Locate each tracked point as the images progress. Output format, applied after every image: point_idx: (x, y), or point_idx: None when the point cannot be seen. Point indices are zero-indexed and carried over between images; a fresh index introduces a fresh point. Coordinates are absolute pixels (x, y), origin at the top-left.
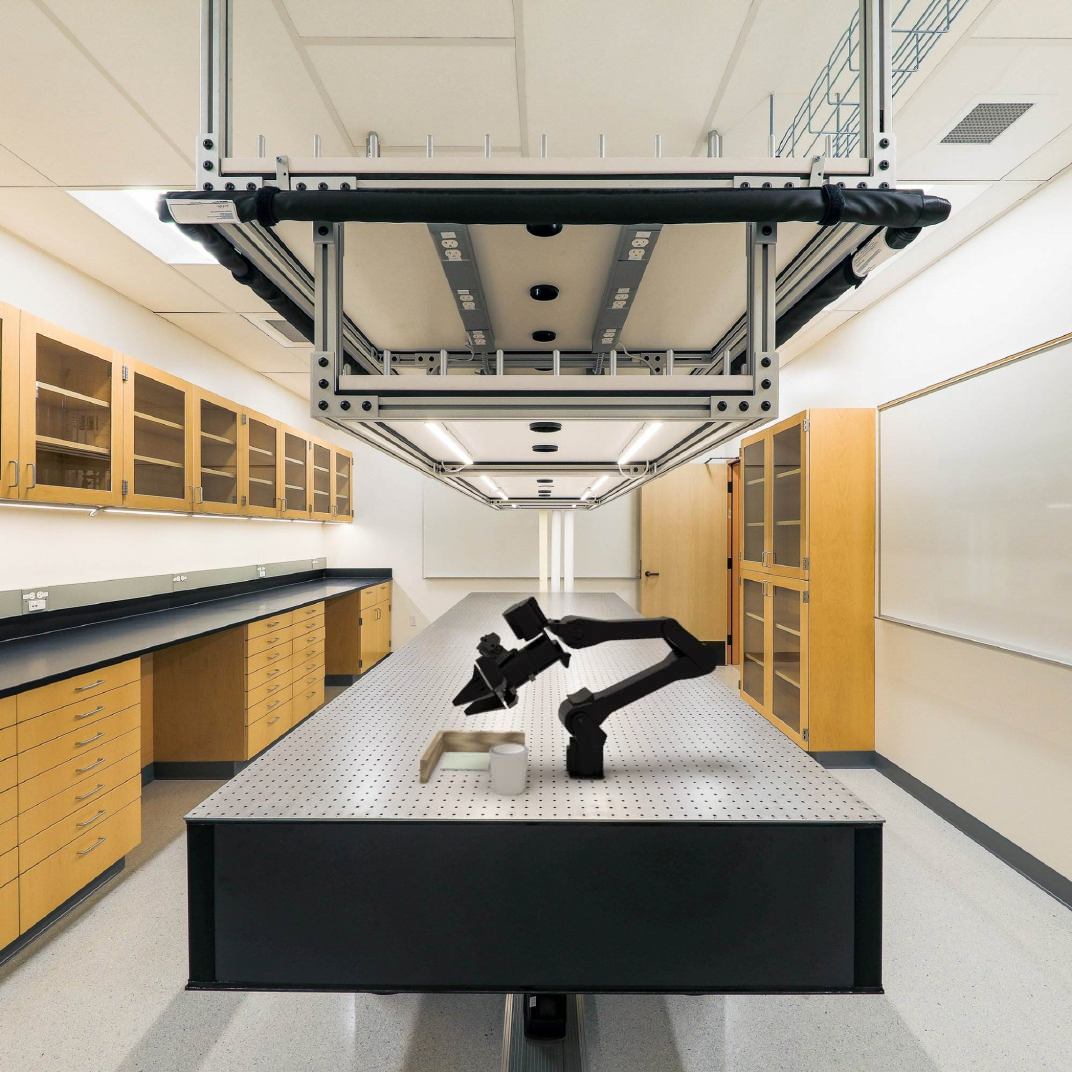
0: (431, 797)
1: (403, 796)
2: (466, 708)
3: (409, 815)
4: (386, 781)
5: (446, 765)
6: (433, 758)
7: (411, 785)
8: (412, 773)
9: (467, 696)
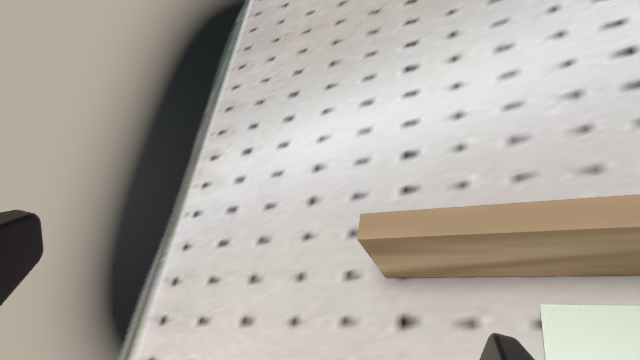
0: (263, 318)
1: (285, 233)
2: (502, 354)
3: (169, 280)
4: (404, 152)
5: (587, 327)
6: (525, 253)
7: None
8: None
9: None
